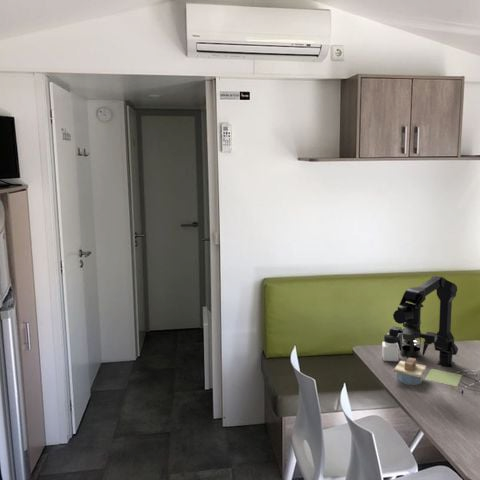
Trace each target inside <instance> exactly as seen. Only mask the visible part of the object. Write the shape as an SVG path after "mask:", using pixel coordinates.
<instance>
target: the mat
mask: <svg viewBox="0 0 480 480" xmlns="http://www.w3.org/2000/svg"><path fill="white" fill-rule="evenodd" d="M462 376H463V374H459V373H454V372H450V371H445V370H440V369H435V368H434V369H433V368H430V370H429V372H428V374H427V375H426V376H425V378H424V380H425V381H429V382H434V383H438V384H445V385H448V386H452V387H453V386H454V387H458V386H459V383H460V381H461V378H462Z"/></svg>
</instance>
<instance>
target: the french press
mask: <svg viewBox="0 0 480 480" xmlns="http://www.w3.org/2000/svg"><path fill="white" fill-rule="evenodd" d="M405 324H406V322H405V323H402V327H403V328H402V330H404V327H405ZM420 325H422V321H421V322H420ZM421 340H422V338H419V341H418V340H416V339H415V341H410V340H404V339H402V352H401V351H399V355H400V356H401V357H406V358H414V359H417V358H420V357H421V342H422V341H421ZM418 346H419V347H418Z"/></svg>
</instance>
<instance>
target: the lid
mask: <svg viewBox="0 0 480 480" xmlns="http://www.w3.org/2000/svg"><path fill="white" fill-rule="evenodd" d="M426 370H427V365H424V364H419V363H417V358H409V357H407V359H406V361H405V360H399V361H398V364H396V366H395V367H394V368H393V372H394V373H397V372H398V373H402V374H407V375H412V376H417V377H421V376H422V374H423V375H424V373H425V371H426Z"/></svg>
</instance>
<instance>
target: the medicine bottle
mask: <svg viewBox="0 0 480 480" xmlns="http://www.w3.org/2000/svg"><path fill="white" fill-rule="evenodd" d="M383 337H384V338H383V340H384V341H382V343H381V356H382V359H383V361H385V362H398V363H399V362H400V349H399V346H398V343H397V341H396V339H395V338H392V336H390V335H389V333H386V334H384V336H383Z"/></svg>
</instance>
